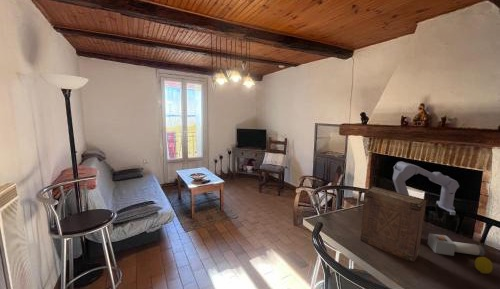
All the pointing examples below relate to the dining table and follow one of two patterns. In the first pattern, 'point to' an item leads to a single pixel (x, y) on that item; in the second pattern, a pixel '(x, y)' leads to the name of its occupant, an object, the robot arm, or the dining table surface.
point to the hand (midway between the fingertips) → (443, 221)
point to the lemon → (483, 265)
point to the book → (393, 222)
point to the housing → (441, 245)
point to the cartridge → (469, 249)
